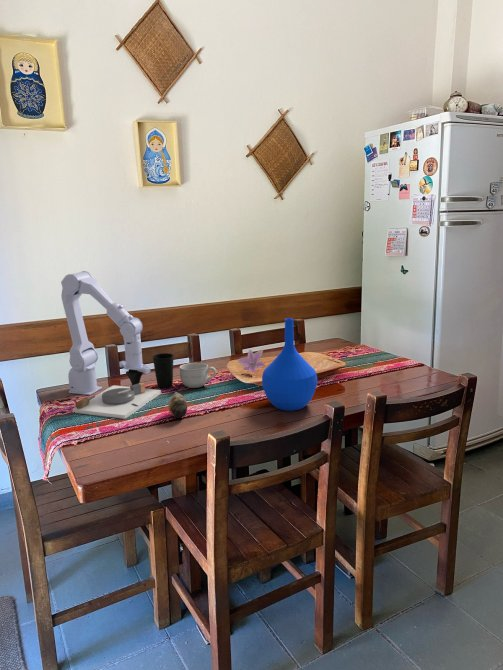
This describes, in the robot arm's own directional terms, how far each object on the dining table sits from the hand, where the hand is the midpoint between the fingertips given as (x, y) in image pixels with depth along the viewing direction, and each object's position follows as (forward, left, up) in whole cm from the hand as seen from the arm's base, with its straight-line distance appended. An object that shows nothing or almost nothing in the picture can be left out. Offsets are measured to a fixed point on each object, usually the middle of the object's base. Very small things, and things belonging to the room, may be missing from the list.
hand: (136, 389), depth 186 cm
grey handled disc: (-1, -6, -1) cm, 6 cm away
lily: (+33, +34, -3) cm, 47 cm away
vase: (+56, +5, -3) cm, 56 cm away
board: (-2, -8, -2) cm, 8 cm away
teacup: (+18, +15, -3) cm, 23 cm away
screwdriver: (-10, -15, -1) cm, 18 cm away
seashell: (+24, -14, -3) cm, 27 cm away
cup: (+6, +11, -3) cm, 13 cm away
